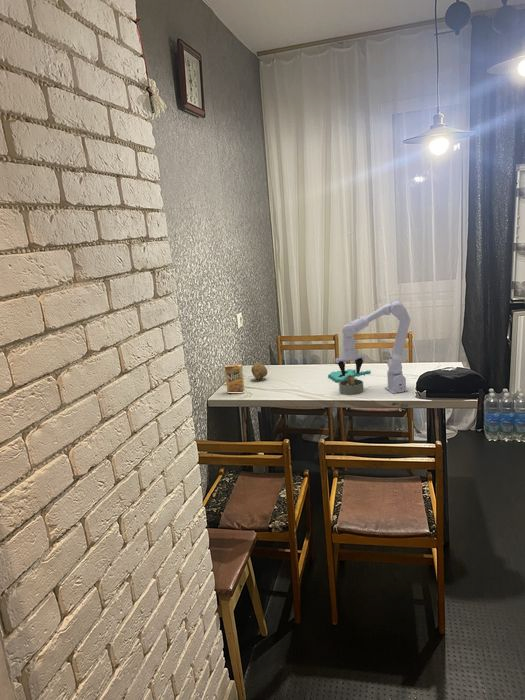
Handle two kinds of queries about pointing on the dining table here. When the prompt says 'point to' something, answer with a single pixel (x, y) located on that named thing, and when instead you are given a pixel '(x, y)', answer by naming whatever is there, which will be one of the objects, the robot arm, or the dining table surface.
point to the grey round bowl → (351, 387)
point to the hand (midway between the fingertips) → (350, 374)
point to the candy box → (234, 378)
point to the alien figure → (338, 375)
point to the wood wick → (350, 380)
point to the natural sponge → (259, 371)
